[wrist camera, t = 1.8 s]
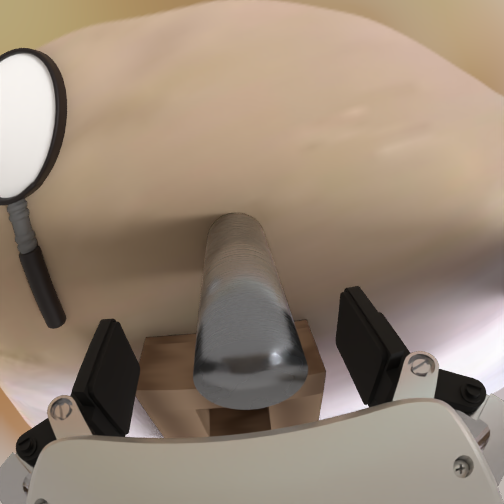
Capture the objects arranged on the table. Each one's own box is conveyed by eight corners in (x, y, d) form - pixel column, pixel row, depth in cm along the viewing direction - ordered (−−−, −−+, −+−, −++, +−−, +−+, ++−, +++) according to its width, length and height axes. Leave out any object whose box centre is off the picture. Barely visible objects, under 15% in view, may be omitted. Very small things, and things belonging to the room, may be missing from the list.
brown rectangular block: (306, 319, 24) (326, 371, 18) (300, 428, 32) (309, 465, 27) (146, 337, 23) (132, 390, 18) (197, 439, 32) (196, 477, 27)
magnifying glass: (20, 314, 22) (10, 326, 20) (-29, 84, 12) (-43, 85, 10) (116, 315, 22) (108, 331, 20) (72, 28, 12) (58, 21, 10)
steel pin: (262, 209, 19) (310, 330, 8) (266, 262, 21) (306, 401, 10) (203, 216, 19) (179, 346, 8) (212, 268, 21) (206, 413, 10)
